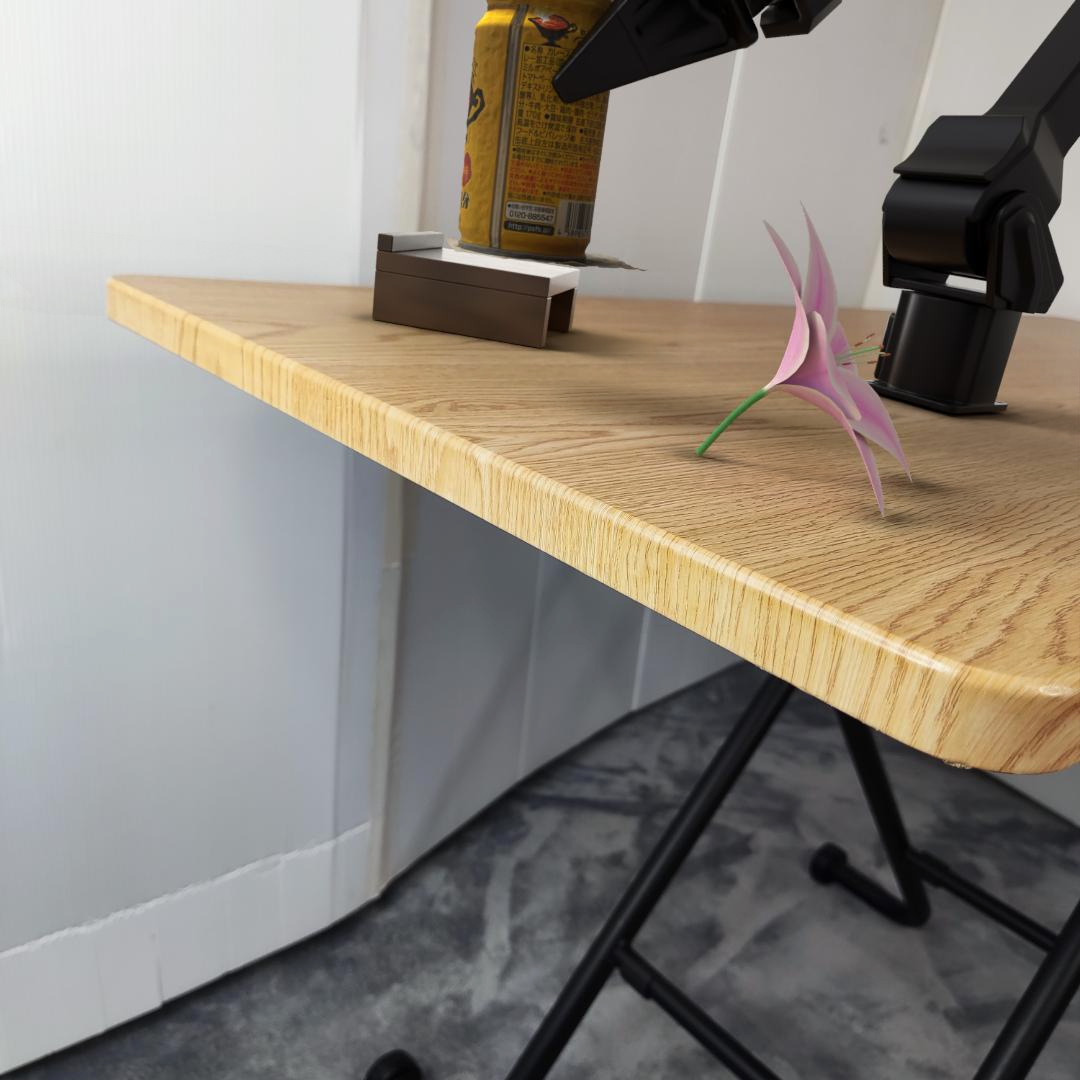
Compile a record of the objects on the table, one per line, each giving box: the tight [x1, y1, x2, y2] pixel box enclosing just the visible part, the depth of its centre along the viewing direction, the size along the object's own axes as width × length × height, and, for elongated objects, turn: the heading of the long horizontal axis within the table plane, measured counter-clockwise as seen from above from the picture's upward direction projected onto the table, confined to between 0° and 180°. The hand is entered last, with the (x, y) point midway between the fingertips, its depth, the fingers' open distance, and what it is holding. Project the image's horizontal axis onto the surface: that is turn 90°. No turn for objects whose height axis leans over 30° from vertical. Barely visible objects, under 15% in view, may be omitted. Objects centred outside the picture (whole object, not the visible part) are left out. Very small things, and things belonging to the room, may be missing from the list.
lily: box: [695, 200, 913, 518], centre depth 36 cm, size 12×12×10 cm
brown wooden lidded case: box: [371, 230, 581, 349], centre depth 62 cm, size 11×10×5 cm
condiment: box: [444, 0, 651, 272], centre depth 41 cm, size 7×8×12 cm
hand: (524, 94), depth 41 cm, fingers closed on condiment, 6 cm apart
